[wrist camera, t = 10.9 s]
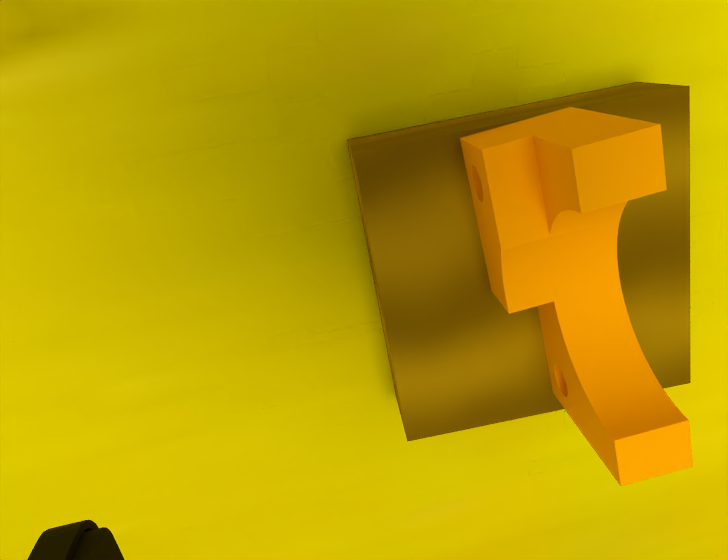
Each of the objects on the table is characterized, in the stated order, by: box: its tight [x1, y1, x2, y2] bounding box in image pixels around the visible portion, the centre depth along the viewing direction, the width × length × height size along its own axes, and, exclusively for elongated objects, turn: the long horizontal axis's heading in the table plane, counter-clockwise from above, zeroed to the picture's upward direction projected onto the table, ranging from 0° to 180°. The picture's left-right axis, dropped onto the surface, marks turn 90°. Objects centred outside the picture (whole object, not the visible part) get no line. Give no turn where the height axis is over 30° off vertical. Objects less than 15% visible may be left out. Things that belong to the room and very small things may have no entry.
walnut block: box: [347, 82, 690, 441], centre depth 28 cm, size 13×13×4 cm
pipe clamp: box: [460, 107, 693, 486], centre depth 23 cm, size 12×4×6 cm, turn 15°
